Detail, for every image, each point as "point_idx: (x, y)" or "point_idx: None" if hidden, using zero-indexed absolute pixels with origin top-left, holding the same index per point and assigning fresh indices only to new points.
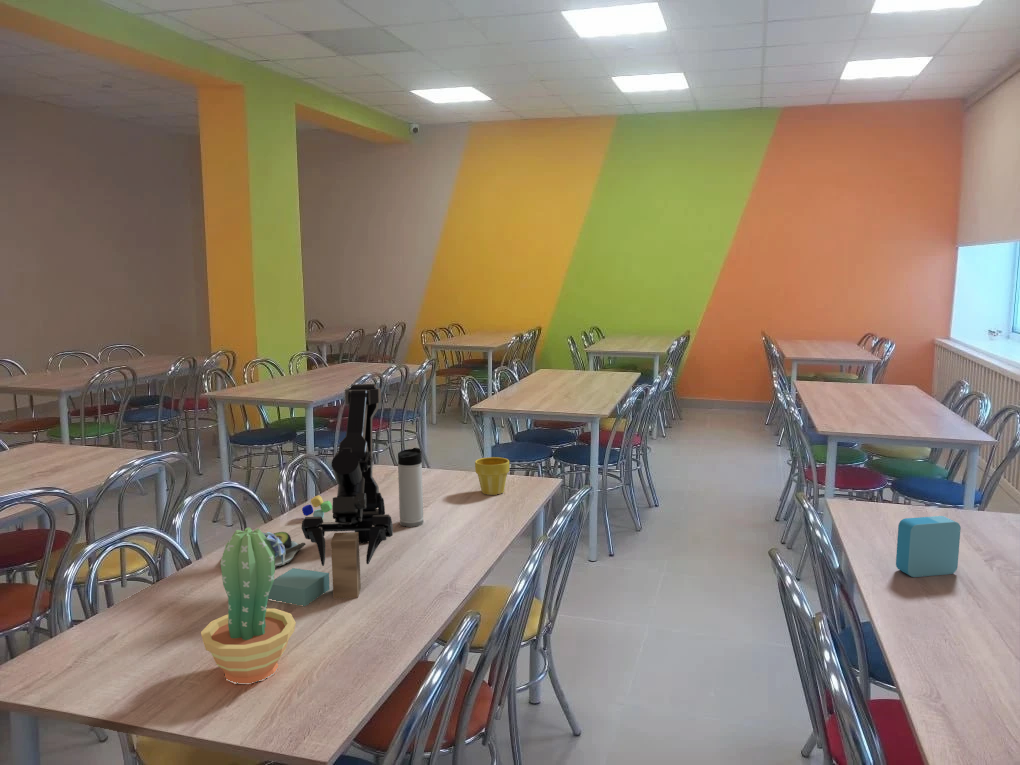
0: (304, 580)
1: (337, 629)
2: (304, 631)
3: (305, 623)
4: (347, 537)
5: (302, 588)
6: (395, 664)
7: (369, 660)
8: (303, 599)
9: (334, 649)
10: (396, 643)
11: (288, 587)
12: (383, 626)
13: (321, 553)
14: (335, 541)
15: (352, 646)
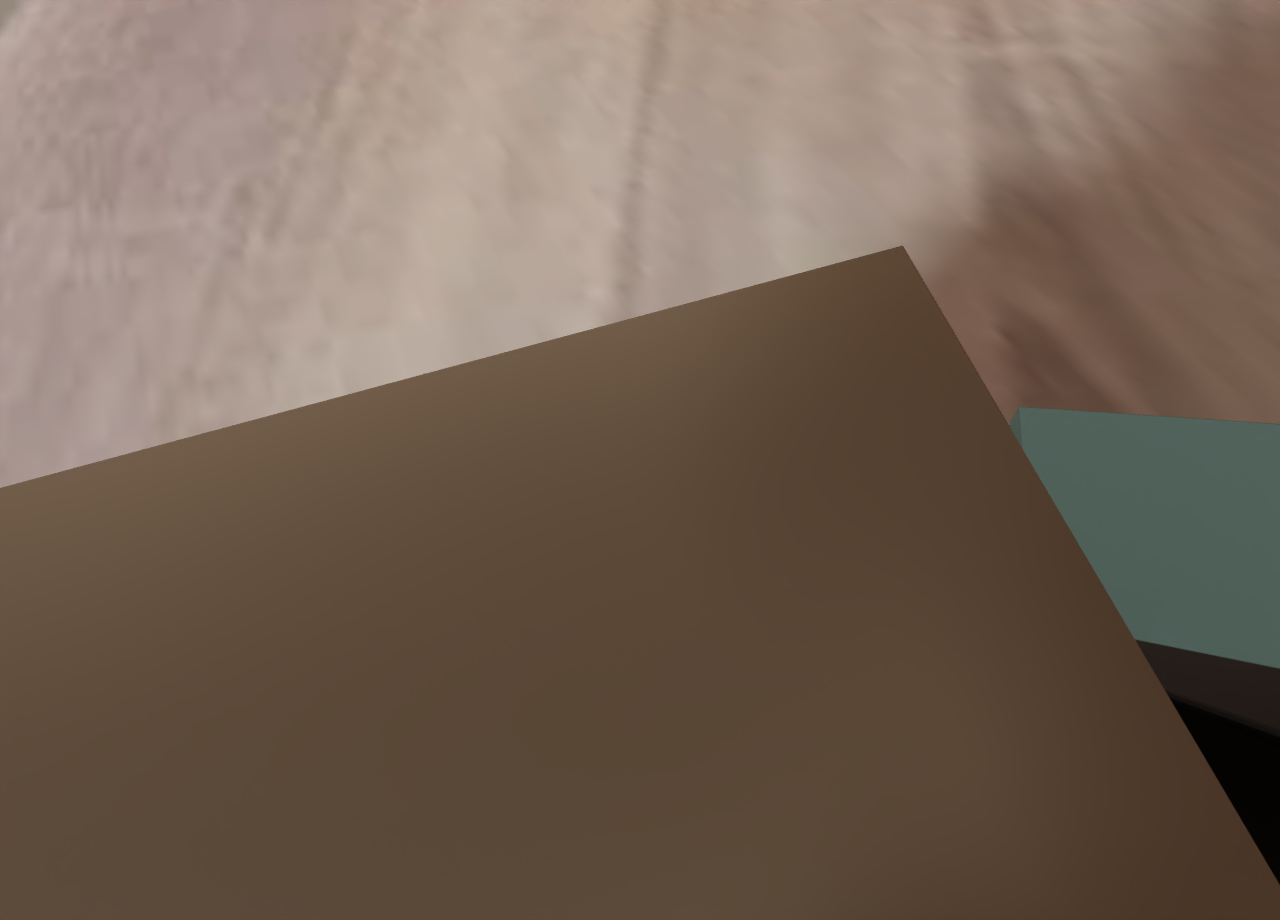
0: (1240, 658)
1: (476, 235)
2: (702, 168)
3: (763, 255)
4: (350, 790)
5: (1059, 420)
6: (43, 27)
7: (185, 25)
8: None
9: (410, 58)
10: (38, 179)
11: (1270, 428)
12: (138, 338)
13: (1247, 692)
14: (727, 304)
15: (310, 101)
